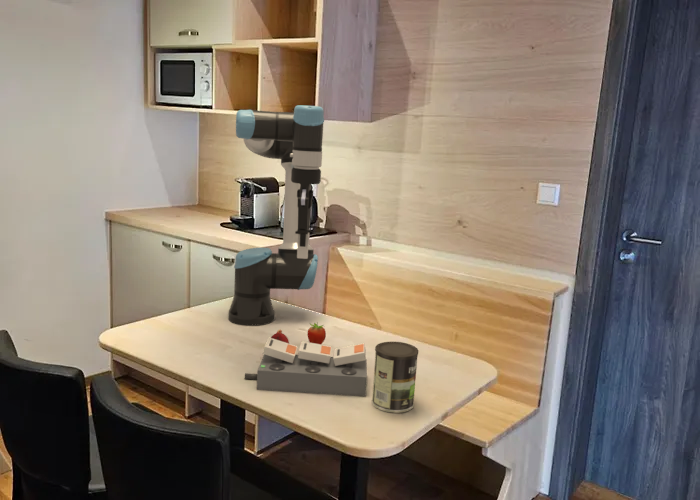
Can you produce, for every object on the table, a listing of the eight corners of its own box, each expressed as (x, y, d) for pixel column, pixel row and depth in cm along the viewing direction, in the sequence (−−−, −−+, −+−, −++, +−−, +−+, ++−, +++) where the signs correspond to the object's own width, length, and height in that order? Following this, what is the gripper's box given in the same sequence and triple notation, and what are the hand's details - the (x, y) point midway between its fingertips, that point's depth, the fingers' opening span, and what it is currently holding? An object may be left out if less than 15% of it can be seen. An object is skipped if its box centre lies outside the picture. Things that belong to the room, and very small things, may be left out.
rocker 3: (336, 355, 167) (334, 348, 167) (365, 350, 167) (364, 342, 166) (335, 365, 160) (333, 358, 160) (365, 360, 160) (364, 352, 159)
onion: (285, 362, 175) (286, 334, 173) (265, 359, 176) (266, 332, 174) (291, 354, 180) (292, 328, 179) (271, 352, 181) (272, 325, 180)
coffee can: (417, 398, 157) (421, 344, 154) (409, 416, 147) (414, 359, 144) (376, 391, 160) (380, 338, 157) (366, 408, 150) (370, 352, 147)
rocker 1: (266, 343, 167) (268, 336, 166) (295, 353, 167) (297, 345, 167) (262, 353, 160) (264, 346, 159) (292, 363, 160) (295, 355, 160)
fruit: (323, 344, 190) (324, 319, 188) (326, 350, 185) (328, 324, 183) (305, 344, 189) (306, 319, 187) (308, 351, 184) (309, 325, 182)
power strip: (249, 369, 168) (249, 348, 167) (365, 376, 168) (366, 355, 167) (240, 388, 157) (241, 365, 155) (365, 396, 156) (367, 373, 155)
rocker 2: (300, 348, 167) (301, 340, 166) (330, 353, 167) (331, 345, 166) (297, 358, 160) (299, 350, 159) (329, 363, 160) (330, 355, 160)
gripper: (294, 164, 167) (290, 251, 172) (288, 168, 155) (285, 262, 159) (322, 166, 167) (318, 253, 172) (319, 170, 155) (314, 264, 159)
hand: (302, 257), depth 166 cm, fingers closed
